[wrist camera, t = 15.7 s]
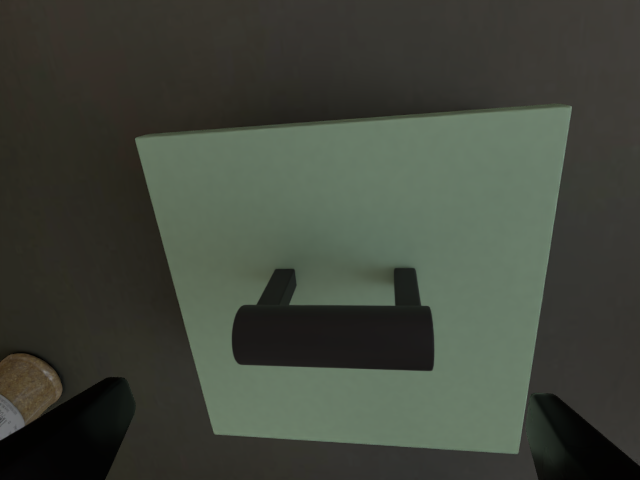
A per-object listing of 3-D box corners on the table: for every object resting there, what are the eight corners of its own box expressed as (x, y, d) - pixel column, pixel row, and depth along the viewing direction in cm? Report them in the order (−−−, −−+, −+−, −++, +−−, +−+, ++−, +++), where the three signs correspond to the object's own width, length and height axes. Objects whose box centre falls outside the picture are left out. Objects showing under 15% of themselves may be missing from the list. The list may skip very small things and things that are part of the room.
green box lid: (147, 133, 13) (29, 168, 9) (560, 102, 11) (676, 128, 7) (220, 420, 18) (168, 531, 14) (512, 437, 16) (560, 575, 12)
